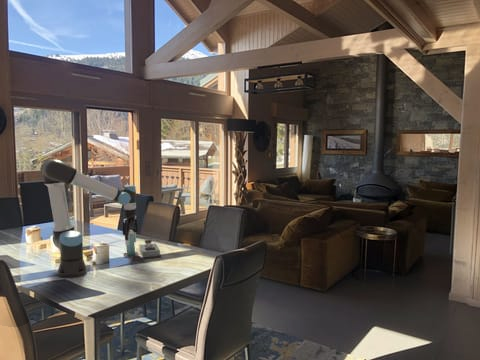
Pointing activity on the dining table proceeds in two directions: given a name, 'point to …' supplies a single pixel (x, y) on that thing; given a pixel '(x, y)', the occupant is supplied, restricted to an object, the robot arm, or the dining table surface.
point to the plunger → (148, 242)
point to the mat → (130, 255)
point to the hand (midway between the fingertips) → (130, 243)
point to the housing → (149, 251)
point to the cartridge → (131, 244)
